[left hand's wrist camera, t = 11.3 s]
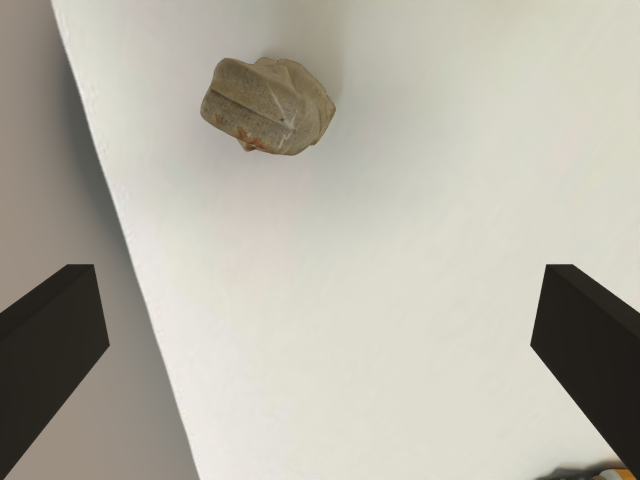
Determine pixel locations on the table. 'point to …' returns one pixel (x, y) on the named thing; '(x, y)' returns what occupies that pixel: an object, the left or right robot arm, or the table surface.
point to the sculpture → (268, 105)
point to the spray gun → (614, 475)
